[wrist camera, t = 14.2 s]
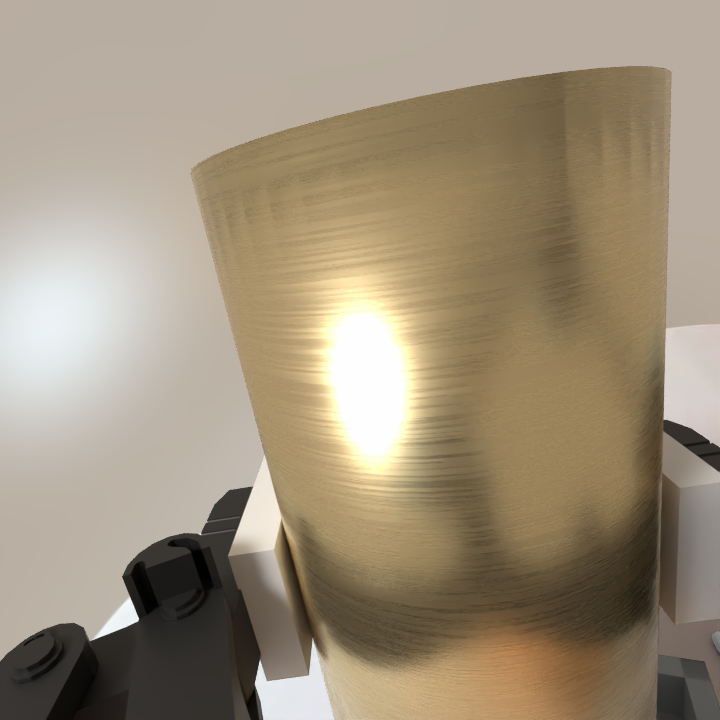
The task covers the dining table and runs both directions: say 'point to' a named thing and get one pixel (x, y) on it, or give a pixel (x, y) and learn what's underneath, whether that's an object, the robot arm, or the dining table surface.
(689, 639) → the dining table surface
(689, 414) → the dining table surface
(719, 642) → the bicycle print cloth
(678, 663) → the slate tray
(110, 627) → the dining table surface
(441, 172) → the cylinder
